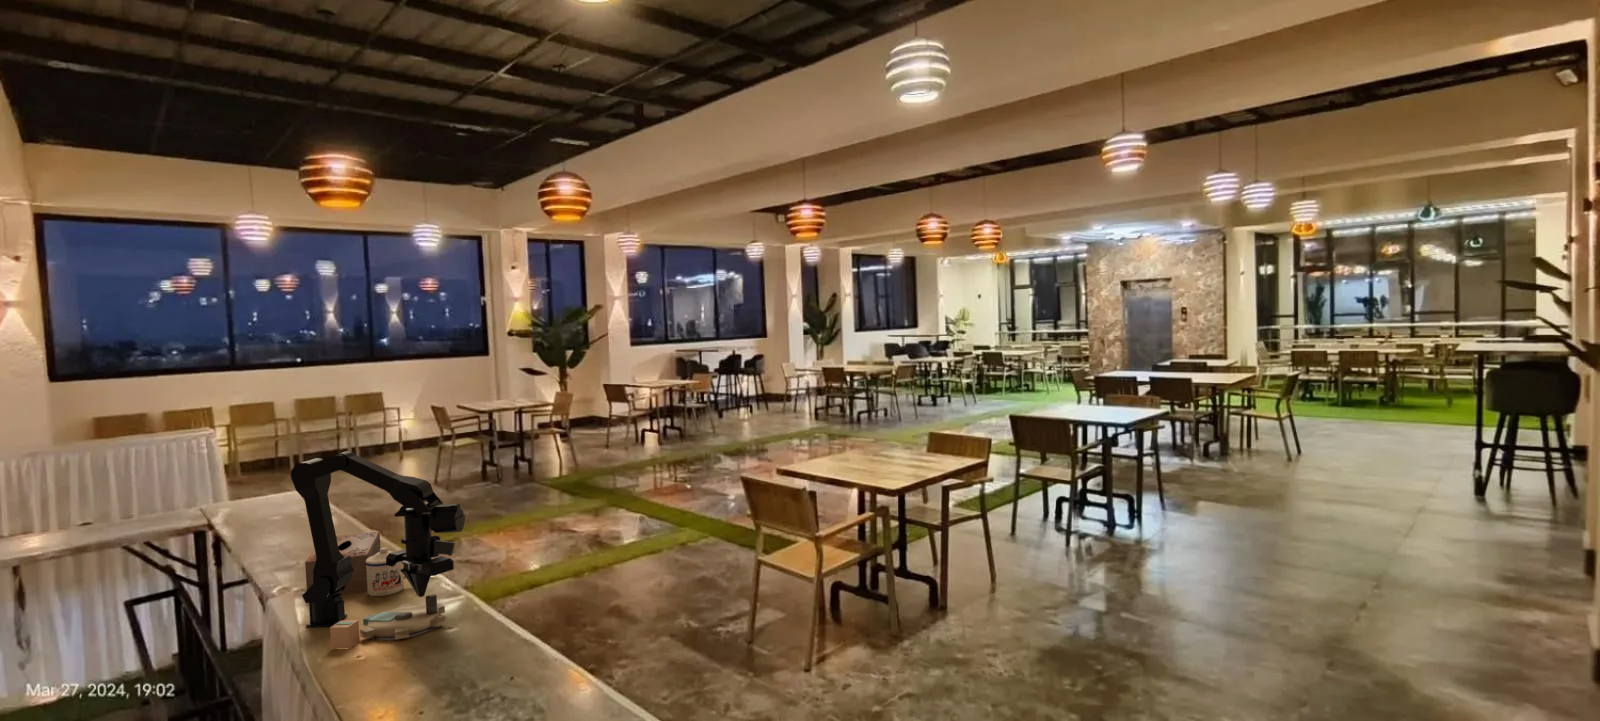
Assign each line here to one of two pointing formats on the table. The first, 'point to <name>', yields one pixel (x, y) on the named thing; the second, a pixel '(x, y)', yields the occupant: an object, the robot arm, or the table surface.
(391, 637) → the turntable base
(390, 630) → the sprocket disc
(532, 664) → the table surface
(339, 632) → the link block
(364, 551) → the tissue box cover
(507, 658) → the table surface
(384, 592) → the teacup with lid
